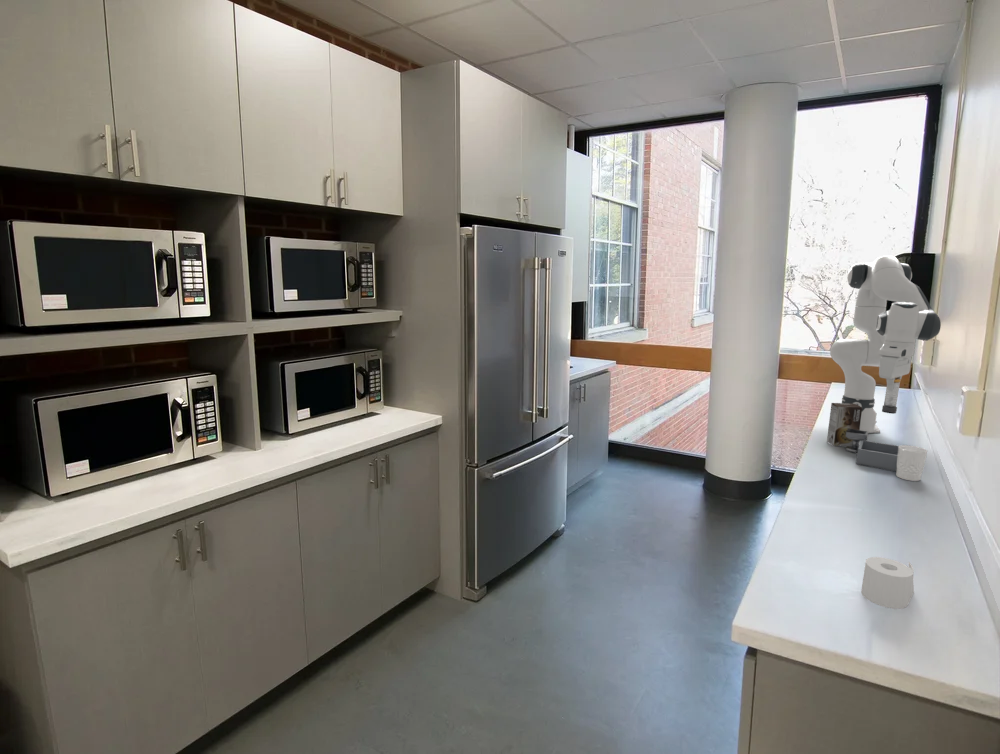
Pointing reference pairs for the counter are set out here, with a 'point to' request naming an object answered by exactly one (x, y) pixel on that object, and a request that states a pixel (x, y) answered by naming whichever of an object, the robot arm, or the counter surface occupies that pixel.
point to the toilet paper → (888, 582)
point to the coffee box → (843, 422)
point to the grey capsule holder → (855, 439)
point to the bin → (877, 455)
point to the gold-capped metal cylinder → (891, 398)
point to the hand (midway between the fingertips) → (892, 388)
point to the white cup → (910, 462)
